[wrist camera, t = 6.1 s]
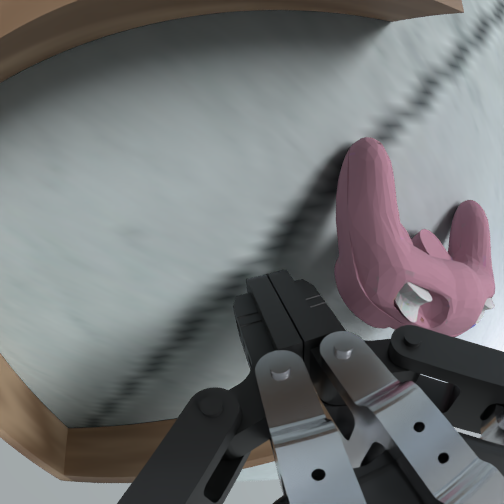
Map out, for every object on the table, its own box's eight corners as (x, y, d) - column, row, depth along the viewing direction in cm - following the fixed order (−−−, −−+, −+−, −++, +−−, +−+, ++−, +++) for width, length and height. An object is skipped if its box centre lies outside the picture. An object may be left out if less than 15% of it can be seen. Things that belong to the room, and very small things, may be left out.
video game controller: (297, 200, 13) (328, 357, 9) (354, 119, 10) (439, 289, 6) (429, 243, 17) (466, 347, 13) (478, 197, 13) (532, 306, 9)
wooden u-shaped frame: (-104, 139, 5) (-154, 164, 1) (388, -3, 8) (457, -18, 4) (64, 435, 16) (60, 480, 13) (368, 373, 19) (394, 414, 16)
